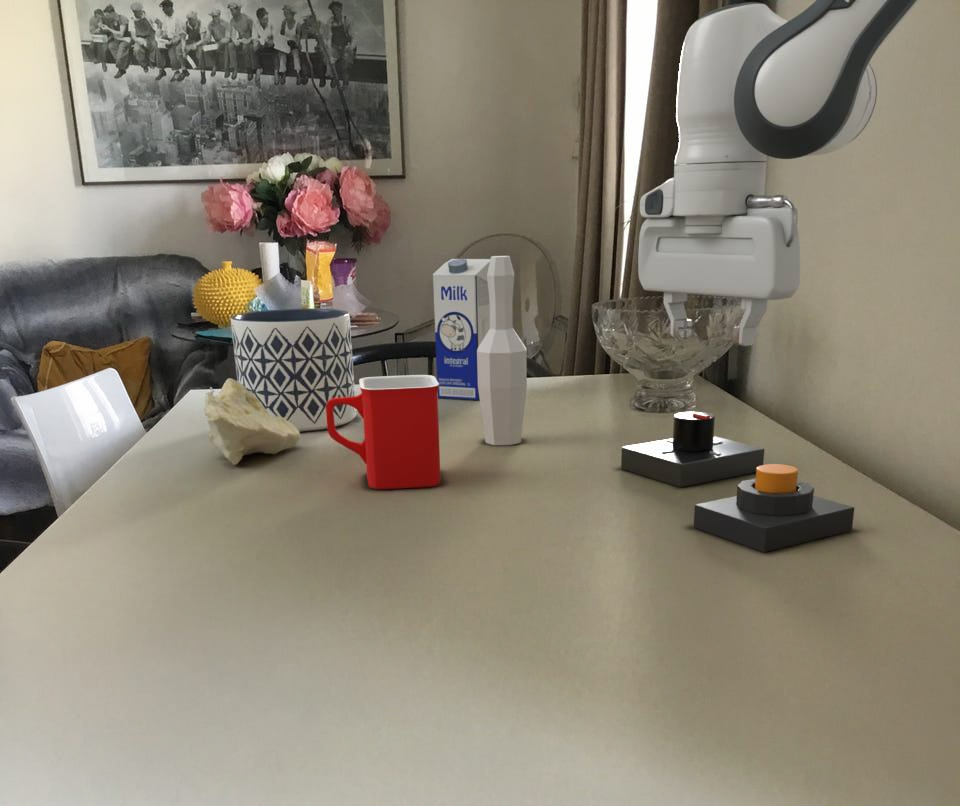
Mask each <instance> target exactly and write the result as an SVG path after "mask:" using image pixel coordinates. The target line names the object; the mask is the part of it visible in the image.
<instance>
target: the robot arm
mask: <svg viewBox="0 0 960 806" xmlns="http://www.w3.org/2000/svg"><path fill="white" fill-rule="evenodd" d="M919 1H920V0H815V1H814V2H813V3H812V4H810V5H809V6H808V7H807V8H805V10H803V11H802V12H801V13H799V14H798V15H796V16H795V17H794V18H792V19H790V20H789V21H788V20H787V19H785V18H783V17H782V16H780V15H778V14H777V13H776V12H774V11H773V10H772V9H771V8H769V6H768V5H767V4H765V3H762V2H756V1H747V2H743V3H734V4H733V3H732V4H729V5H726V6H722V7H719V8H716V9H714V10H711V11H709V12H707V13H705V14H704V15H702V16H701V17H699V18H698V19H696V20H695V21H694V23H692V24H691V26H690V27H689V28H688V30H687V32H686V35H685V38H684V40H683V45H682V50H681V55H680V63H679V71H678V79H677V92H676V93H677V94H676V113H675V114H676V115H675V118H676V123H677V127H678V134H679V135H678V138H679V139H678V140H679V142H678V148H677V152H676V154H675V159H674V166H673V168H674V169H673V177H672V178H669V179H667V180H666V181H665V182H663V183H662V184H661V185H658V186H657V187H655V188H653V189H652V190H650V191H648V192H646V193H645V194H643V195H642V196H641V198H640V200H639V213H640V216H641V217H643V218H644V219H645V218H646V219H645V220H644V221H643V223H642V224H641V227H640V231H639V236H638V240H639V241H638V252H637V253H638V255H637V257H638V258H637V259H638V260H637V273H638V275H637V276H638V279H639V283H640V284H641V287H642V289H643V290H644V291H648V292H650V291H651V292H660V293H661V292H662V293H663V302H662V303H663V305H664V308H665V310H666V314H667V316H668V318H669V321H670V328H669V329H670V330H669V334H670V336H671V337H673V338H679V339H680V338H681V339H683V338H690V337H691V336H692V334H693V330H692V327H693V319H690V318H688V316H687V311H686V308H685V303H687V302H688V295H700V296H713V297H724V298H725V297H726V298H739V299H741V304H740V305H741V307H740V309H741V310H742V311H744V313H743V315H742V317H741V320H740V322H739V325H738V326H737V325H736V326H732V339H731V342H732V344H733V345H735V346H742V347H748V346H753V345H754V344H755V343H756V339H757V337H756V336H757V327H758V326H759V324H760V323H761V320H762V319H763V317H764V316H765V313H766V312H767V310H768V301H774V300H777V301H778V300H784V299H791V298H792V297H794V295H795V293H796V292H797V291H798V289H799V288H800V281H801V249H800V248H801V247H800V235H799V229H798V220H799V212H798V209H797V208H796V206H795V205H794V203H793V202H792V201H790V200H789V197H787V195H784V194H774V195H765V191H766V179H767V178H766V177H767V176H766V175H767V161H768V157H769V158H774V159H779V160H793V159H799V158H802V157H811V156H820V155H827V154H830V153H833V152H835V151H838V150H840V149H841V148H844V147H845V146H846V145H848V144H850V143H851V142H853V141H854V140H855V139H856V138H857V137H858V136H859V135H860V134H861V133H862V132H863V131H864V130H865V128H866V127H867V125H868V123H869V122H870V120H871V118H872V116H873V113H874V110H875V106H876V103H877V95H878V86H877V85H878V84H877V78H876V75H875V72H874V70H873V68H872V65H871V64H870V63H871V60H872V59H873V58H874V56H875V55H876V53H877V52H878V50H879V49H880V48H881V46H882V45H884V43H885V42H886V40H887V39H888V38H889V37H890V36H891V34H892V33H893V32H894V31H895V30H896V29H897V27H898V26H899V25H900V24H901V23H902V22H903V21H904V19H905V18H906V17H907V16H908V15H909V14H910V13H911V11H912V9H914V8H915V6H916V5H917V4H918V3H919ZM786 206H788V207H786Z"/></svg>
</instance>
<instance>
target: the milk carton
mask: <svg viewBox="0 0 960 806" xmlns="http://www.w3.org/2000/svg"><path fill="white" fill-rule="evenodd" d="M490 260H491V258H450V259H449V260H448V261H446V262H444V263H443V264H442V265H441V266H440V267H439V268H438V269H437V270H436V271H434V272H433V273H432V274H431V275H432V283H433V311H434V335H435V336H434V337H435V358H436V359H435V363H436V365H435V366H436V380H437V381H438V383H439V388H438V393H437V395H438V399H452V400H467V401H469V400H470V401H480V398H479V391H478V371H477V349H478V347H479V345H480V344H481V342H482V341H483V339H484V337H485V336H486V334H487V332H488V331H489V329H490V300H489V291H488V281H487V273H488V268H489V264H490Z"/></svg>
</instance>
